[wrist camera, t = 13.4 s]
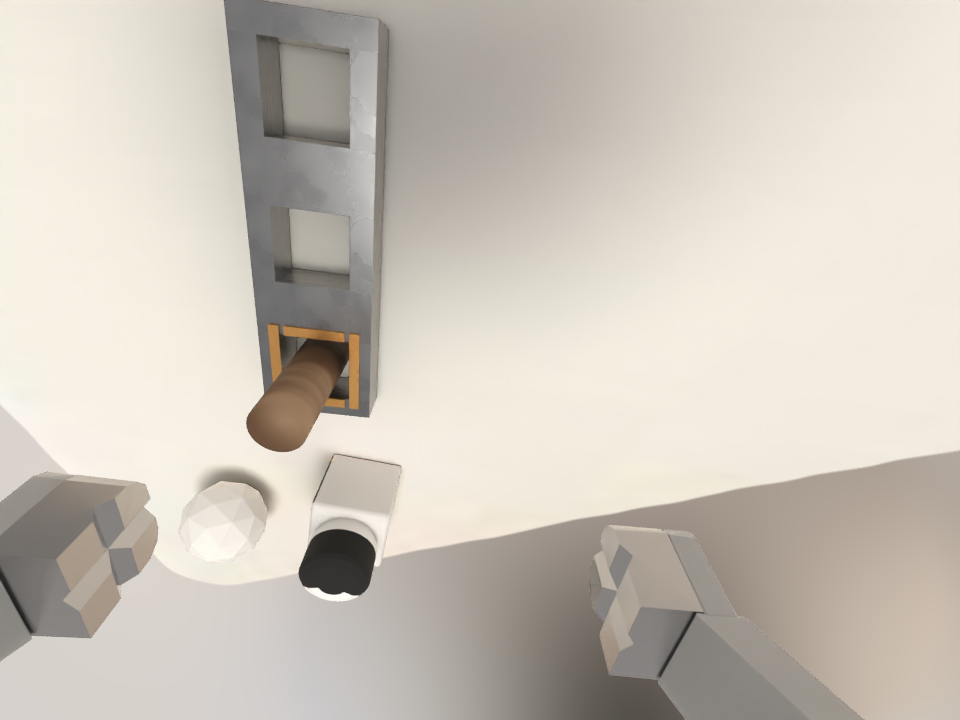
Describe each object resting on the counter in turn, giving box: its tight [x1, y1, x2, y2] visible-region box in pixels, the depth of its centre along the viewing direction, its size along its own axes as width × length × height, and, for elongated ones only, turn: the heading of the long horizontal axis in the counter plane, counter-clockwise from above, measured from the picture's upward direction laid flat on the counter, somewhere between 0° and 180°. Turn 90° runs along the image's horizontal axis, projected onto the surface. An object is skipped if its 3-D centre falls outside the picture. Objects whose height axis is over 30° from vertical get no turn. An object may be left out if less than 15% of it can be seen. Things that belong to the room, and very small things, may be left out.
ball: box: [178, 481, 268, 562], centre depth 46 cm, size 8×8×8 cm
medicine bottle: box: [299, 455, 401, 601], centre depth 44 cm, size 7×7×12 cm
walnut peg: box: [246, 338, 349, 452], centre depth 36 cm, size 4×4×12 cm
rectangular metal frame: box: [224, 0, 389, 418], centre depth 35 cm, size 29×9×4 cm, turn 172°
